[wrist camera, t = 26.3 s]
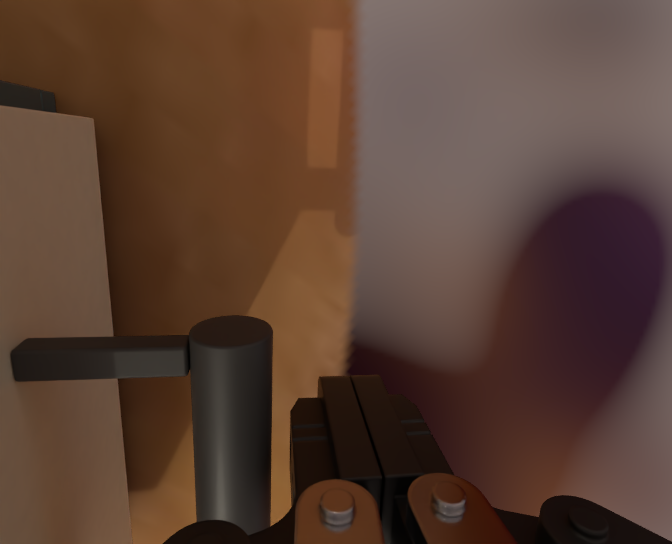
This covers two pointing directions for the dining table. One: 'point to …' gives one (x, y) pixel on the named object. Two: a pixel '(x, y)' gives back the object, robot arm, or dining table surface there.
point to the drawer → (103, 360)
